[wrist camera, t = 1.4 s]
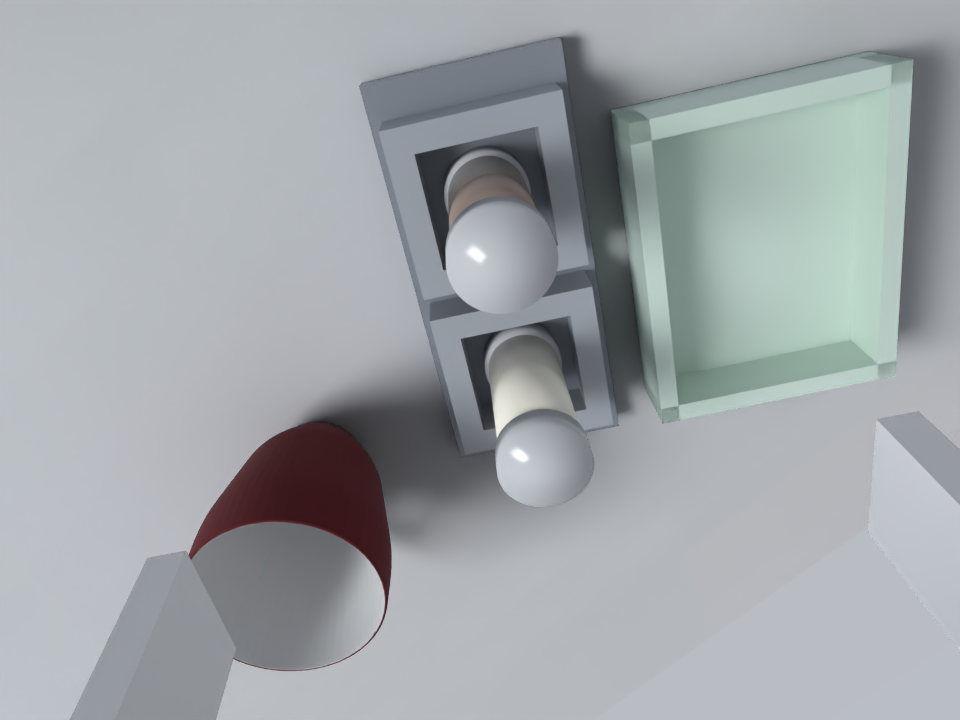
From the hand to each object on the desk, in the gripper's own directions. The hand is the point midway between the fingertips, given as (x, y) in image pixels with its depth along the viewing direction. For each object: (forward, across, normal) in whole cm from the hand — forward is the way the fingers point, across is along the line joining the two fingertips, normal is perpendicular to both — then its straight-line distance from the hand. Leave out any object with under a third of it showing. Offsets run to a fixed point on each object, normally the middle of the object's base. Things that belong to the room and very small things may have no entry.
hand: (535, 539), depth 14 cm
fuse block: (+21, +1, -3) cm, 21 cm away
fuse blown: (+20, +1, +1) cm, 20 cm away
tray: (+21, +12, -3) cm, 24 cm away
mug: (+21, -10, -12) cm, 26 cm away
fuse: (+20, +1, -7) cm, 21 cm away
